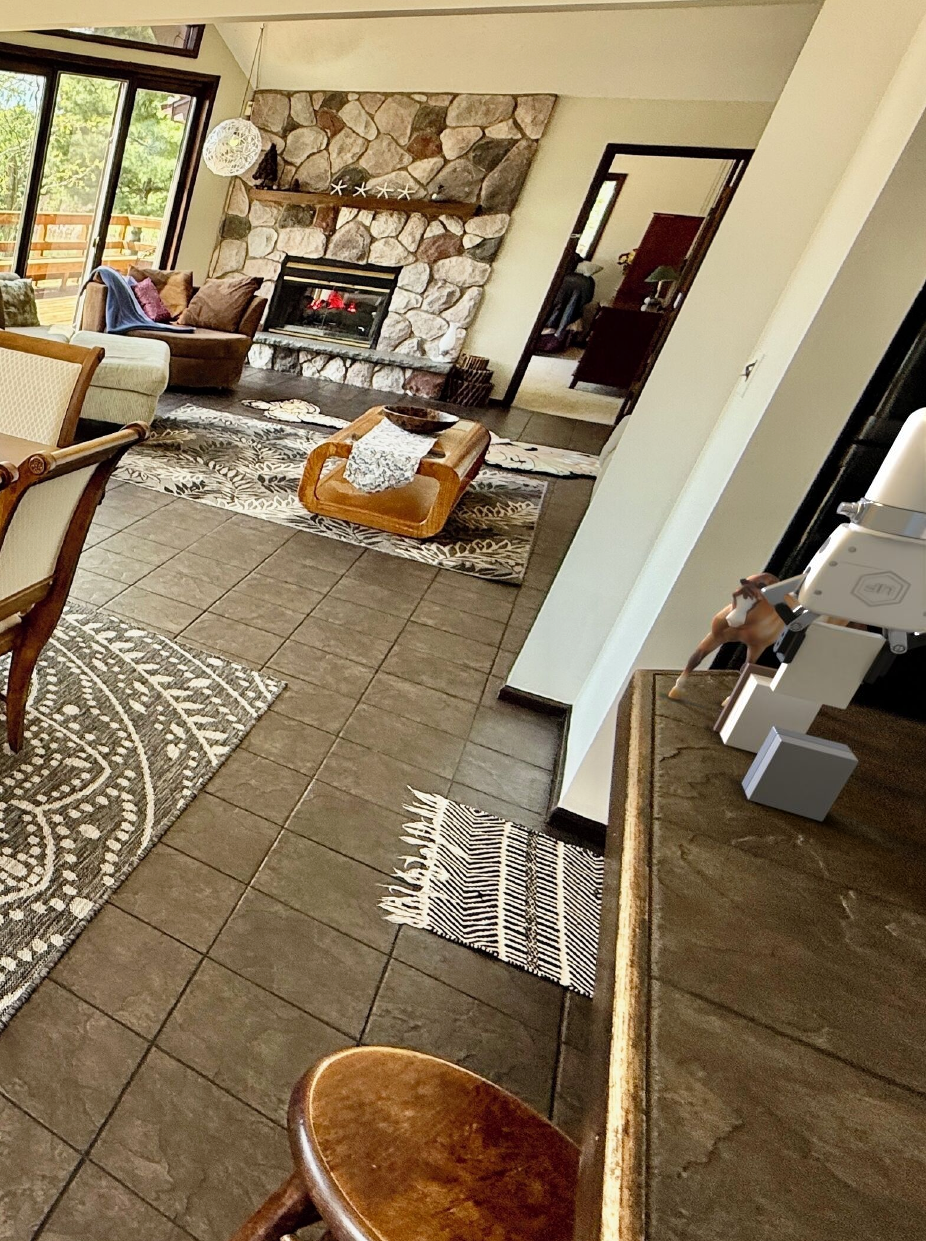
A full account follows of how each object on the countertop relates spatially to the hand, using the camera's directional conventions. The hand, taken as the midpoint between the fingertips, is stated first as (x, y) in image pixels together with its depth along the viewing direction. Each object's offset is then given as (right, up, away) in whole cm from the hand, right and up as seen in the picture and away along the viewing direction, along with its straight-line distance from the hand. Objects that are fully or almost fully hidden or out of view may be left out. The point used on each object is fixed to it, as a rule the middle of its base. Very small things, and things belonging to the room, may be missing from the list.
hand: (823, 667), depth 103 cm
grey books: (-6, -16, -1) cm, 17 cm away
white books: (+4, -11, +11) cm, 16 cm away
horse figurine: (+18, -8, +22) cm, 29 cm away
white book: (0, -4, +2) cm, 4 cm away
